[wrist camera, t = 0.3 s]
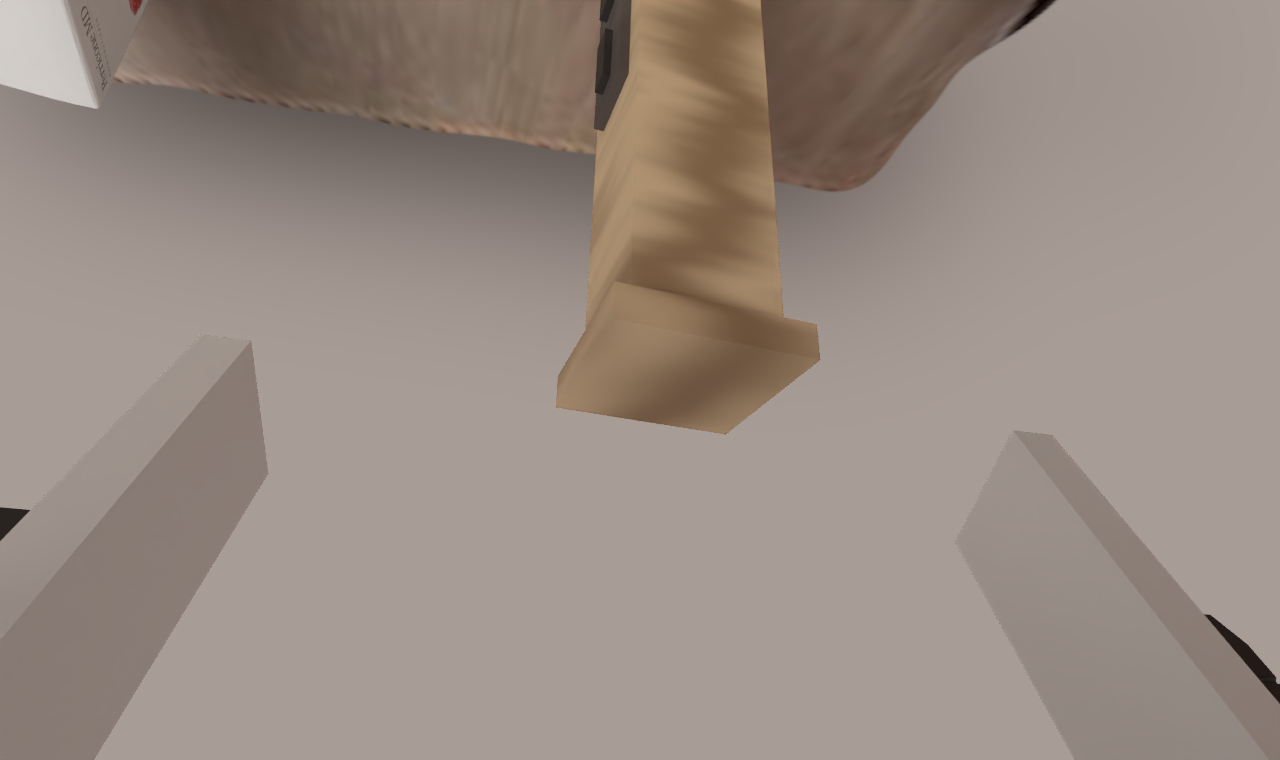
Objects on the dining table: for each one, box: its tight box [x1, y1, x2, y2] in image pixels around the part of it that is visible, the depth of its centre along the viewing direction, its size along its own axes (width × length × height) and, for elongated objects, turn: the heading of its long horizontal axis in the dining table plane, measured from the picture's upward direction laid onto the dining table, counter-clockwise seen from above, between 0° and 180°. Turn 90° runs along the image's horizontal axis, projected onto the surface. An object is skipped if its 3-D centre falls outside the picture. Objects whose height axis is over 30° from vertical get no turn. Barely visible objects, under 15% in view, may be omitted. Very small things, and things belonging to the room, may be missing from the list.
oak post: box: [556, 0, 820, 434], centre depth 30 cm, size 6×6×29 cm
